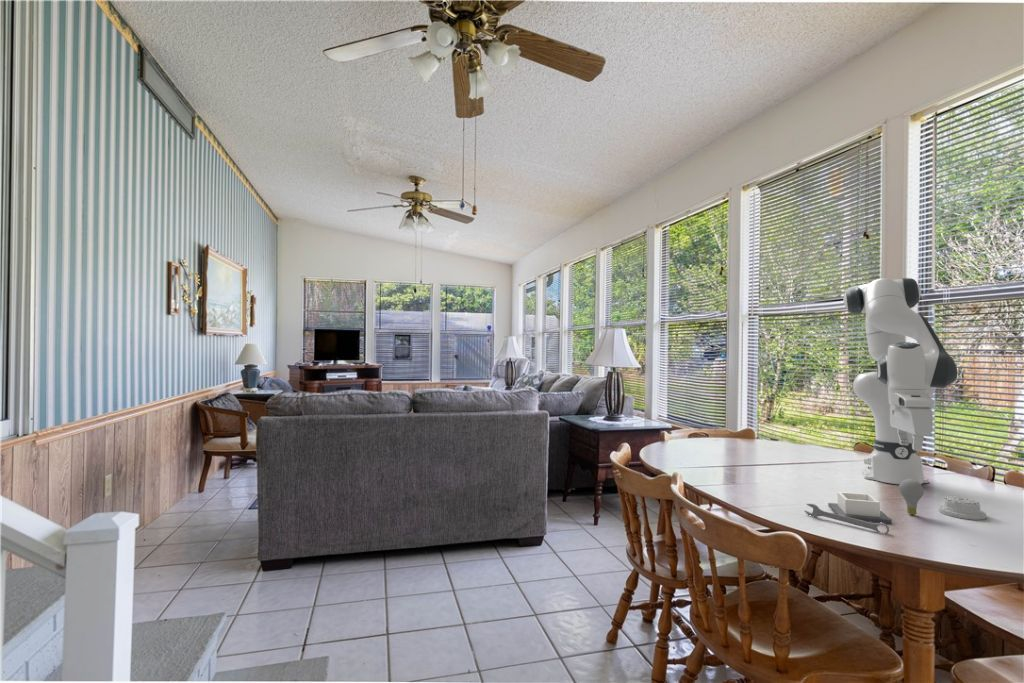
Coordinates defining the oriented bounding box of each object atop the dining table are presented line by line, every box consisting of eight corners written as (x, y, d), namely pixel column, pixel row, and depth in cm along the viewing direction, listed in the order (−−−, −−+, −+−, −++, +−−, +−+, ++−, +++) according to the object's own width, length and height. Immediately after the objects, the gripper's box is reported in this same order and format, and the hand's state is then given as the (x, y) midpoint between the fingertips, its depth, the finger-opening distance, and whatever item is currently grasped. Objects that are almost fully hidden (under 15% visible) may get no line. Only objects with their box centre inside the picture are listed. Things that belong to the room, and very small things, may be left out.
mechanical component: (942, 507, 146) (935, 514, 139) (941, 492, 146) (934, 498, 140) (988, 515, 138) (983, 523, 132) (988, 499, 138) (982, 507, 132)
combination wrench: (889, 522, 125) (806, 501, 141) (888, 523, 124) (803, 502, 140) (889, 537, 125) (806, 514, 141) (888, 538, 124) (803, 515, 140)
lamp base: (828, 506, 147) (827, 489, 147) (875, 510, 143) (875, 492, 143) (839, 519, 136) (839, 501, 136) (891, 523, 132) (891, 505, 132)
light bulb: (920, 519, 135) (919, 483, 135) (896, 514, 139) (895, 479, 140) (927, 515, 138) (926, 480, 138) (904, 510, 142) (902, 476, 143)
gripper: (882, 396, 150) (884, 441, 150) (907, 401, 131) (910, 453, 131) (907, 396, 148) (910, 442, 147) (937, 401, 129) (940, 454, 128)
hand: (910, 447), depth 139 cm, fingers open, 8 cm apart
